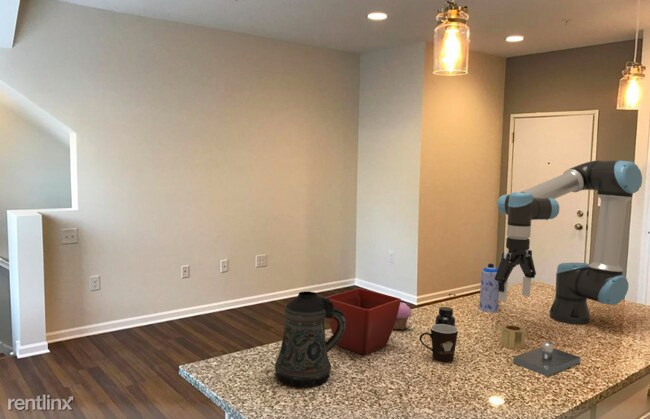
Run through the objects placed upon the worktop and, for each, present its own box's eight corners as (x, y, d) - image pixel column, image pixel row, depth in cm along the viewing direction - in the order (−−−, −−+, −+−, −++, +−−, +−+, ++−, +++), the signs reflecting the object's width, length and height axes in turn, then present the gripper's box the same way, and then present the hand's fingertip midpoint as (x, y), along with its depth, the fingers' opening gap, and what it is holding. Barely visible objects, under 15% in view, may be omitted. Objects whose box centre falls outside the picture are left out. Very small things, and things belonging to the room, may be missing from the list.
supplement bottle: (450, 346, 176) (452, 312, 174) (431, 342, 179) (433, 309, 178) (456, 340, 181) (458, 307, 180) (438, 337, 185) (439, 304, 184)
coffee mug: (457, 355, 168) (459, 326, 167) (455, 365, 160) (457, 334, 159) (422, 350, 171) (423, 321, 170) (418, 360, 163) (419, 329, 162)
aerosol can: (500, 312, 216) (503, 266, 214) (482, 312, 216) (484, 265, 214) (494, 307, 224) (497, 262, 222) (476, 306, 224) (479, 261, 222)
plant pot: (400, 345, 176) (402, 298, 174) (366, 361, 162) (367, 309, 160) (358, 332, 189) (359, 287, 187) (322, 345, 175) (323, 297, 173)
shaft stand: (545, 351, 173) (546, 332, 172) (580, 363, 163) (581, 343, 162) (513, 362, 162) (514, 343, 162) (548, 376, 153) (549, 355, 152)
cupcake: (409, 325, 197) (410, 300, 196) (411, 333, 189) (412, 306, 188) (386, 324, 198) (387, 299, 197) (387, 331, 190) (388, 305, 189)
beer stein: (266, 371, 153) (266, 289, 151) (322, 359, 163) (323, 282, 160) (289, 393, 139) (290, 304, 136) (350, 379, 148) (352, 295, 146)
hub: (509, 338, 184) (510, 322, 183) (529, 345, 178) (530, 329, 177) (495, 343, 179) (496, 326, 179) (515, 350, 173) (516, 333, 172)
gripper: (529, 233, 185) (525, 291, 187) (486, 238, 170) (482, 300, 173) (548, 236, 179) (544, 295, 181) (505, 241, 164) (501, 306, 166)
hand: (514, 298), depth 177 cm, fingers open, 13 cm apart
